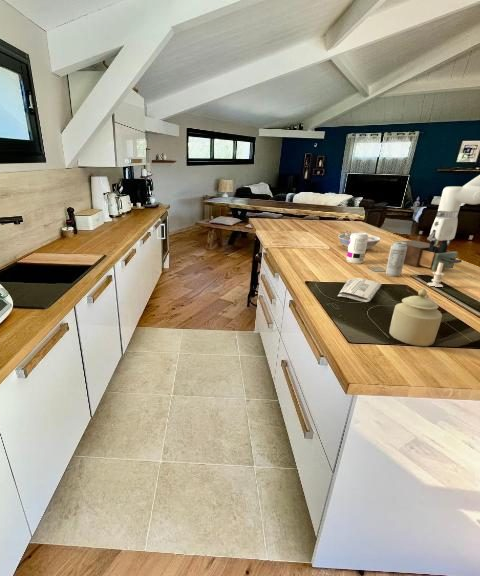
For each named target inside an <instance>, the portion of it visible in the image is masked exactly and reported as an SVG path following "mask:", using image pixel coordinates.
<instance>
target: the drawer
mask: <svg viewBox="0 0 480 576" xmlns="http://www.w3.org/2000/svg"><path fill="white" fill-rule="evenodd" d="M438 251H439V249H438V248H437V250H436V255H435V253H434V252H430V251H429V249H422V250H421V254H420V258H419V262H418V265H422V267H426V268H428V269H431V270H432V271H437V268H438V265H439V262H440V263H441V262H442V263H443V268H442V270H449V269H454V265H455V264H460V263H462V262H463V260H462V259H457V256H458V251H451V250H446V253H439V252H438ZM434 257H435V259H434ZM433 261H434V263H433ZM432 264H433V265H432Z"/></svg>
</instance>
